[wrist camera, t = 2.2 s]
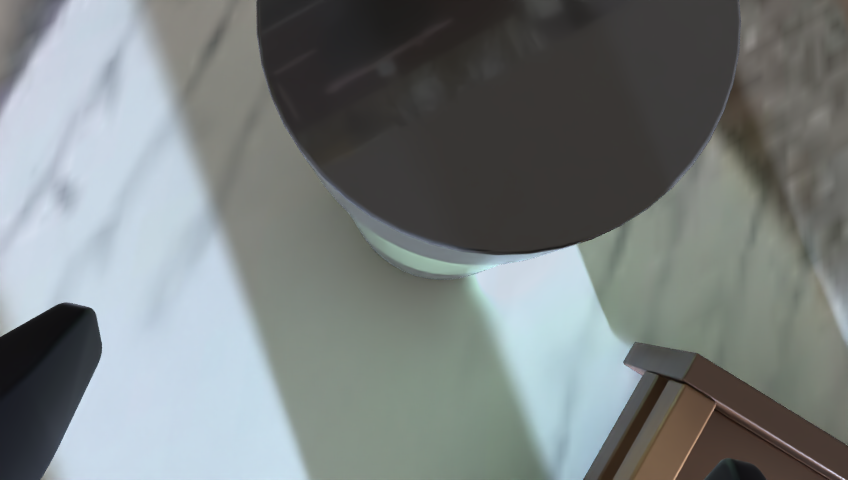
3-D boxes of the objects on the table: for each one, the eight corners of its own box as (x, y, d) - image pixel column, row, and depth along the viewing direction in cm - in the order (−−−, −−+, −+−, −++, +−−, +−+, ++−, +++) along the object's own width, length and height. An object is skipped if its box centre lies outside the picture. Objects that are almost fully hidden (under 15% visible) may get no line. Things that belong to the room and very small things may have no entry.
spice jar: (474, 319, 21) (588, 351, 8) (308, 217, 21) (157, 85, 8) (573, 156, 22) (828, -60, 9) (411, 57, 22) (421, -303, 9)
